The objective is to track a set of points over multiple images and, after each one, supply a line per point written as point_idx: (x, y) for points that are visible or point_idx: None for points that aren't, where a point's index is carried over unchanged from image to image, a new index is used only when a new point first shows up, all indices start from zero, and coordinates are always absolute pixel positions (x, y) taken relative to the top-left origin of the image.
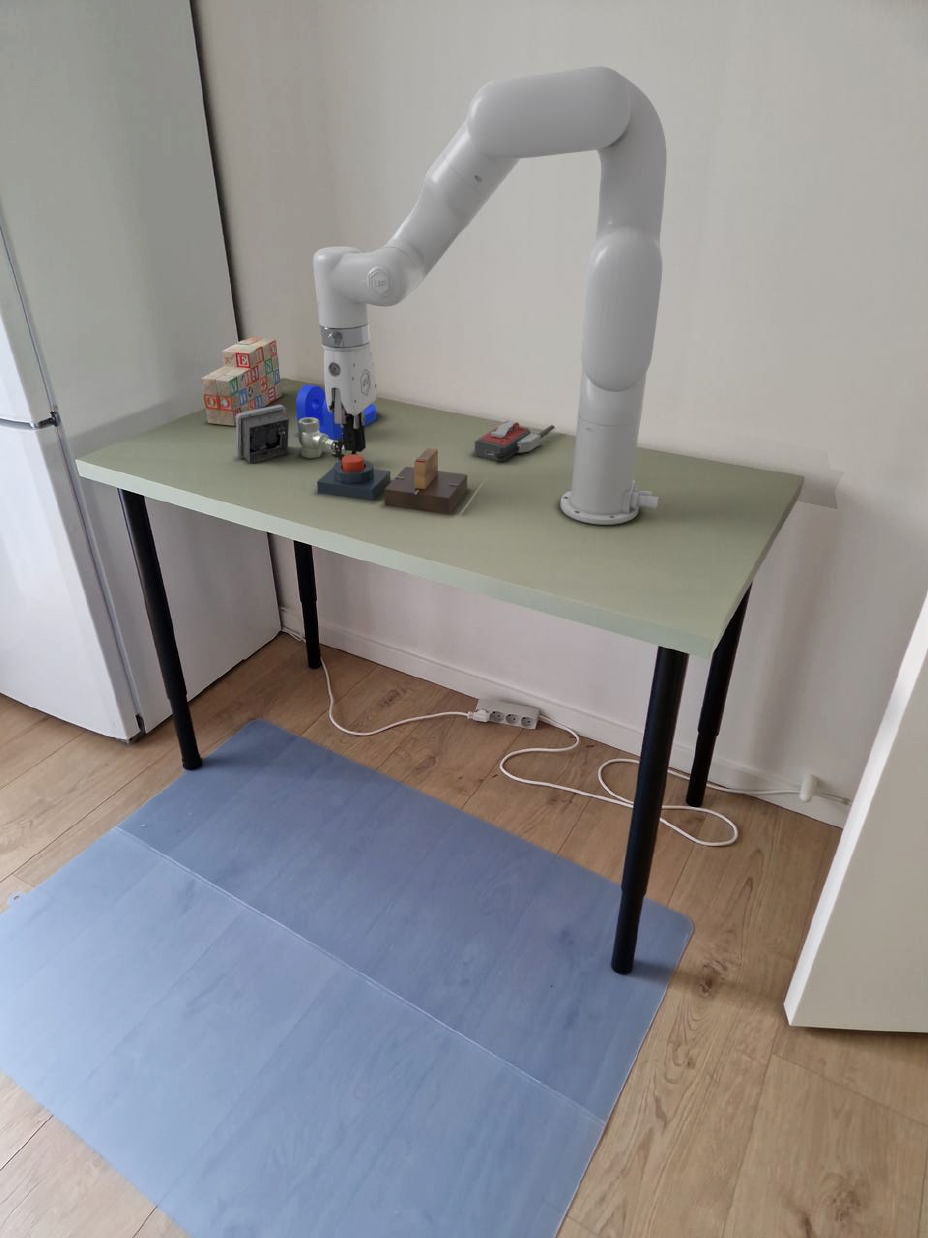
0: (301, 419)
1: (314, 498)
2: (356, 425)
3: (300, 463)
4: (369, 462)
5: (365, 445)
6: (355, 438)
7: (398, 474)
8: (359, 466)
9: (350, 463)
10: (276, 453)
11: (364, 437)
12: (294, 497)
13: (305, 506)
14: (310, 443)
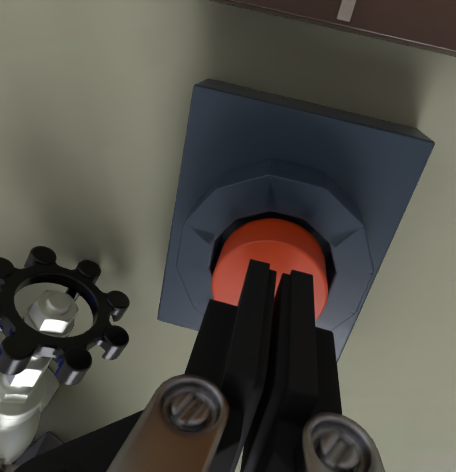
0: None
1: (372, 340)
2: (356, 460)
3: (100, 398)
4: (215, 201)
5: (250, 265)
6: (326, 366)
7: (294, 13)
8: (312, 244)
9: (326, 294)
10: None
11: (250, 303)
12: (362, 393)
13: (441, 359)
14: (30, 417)
